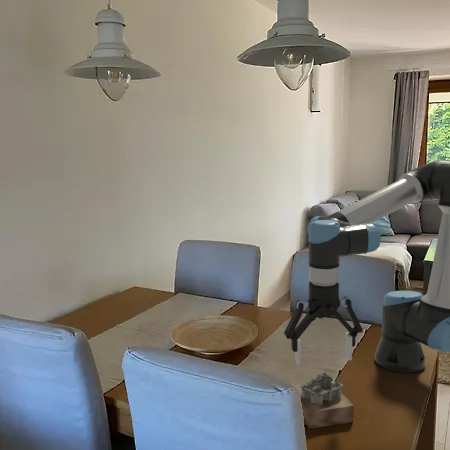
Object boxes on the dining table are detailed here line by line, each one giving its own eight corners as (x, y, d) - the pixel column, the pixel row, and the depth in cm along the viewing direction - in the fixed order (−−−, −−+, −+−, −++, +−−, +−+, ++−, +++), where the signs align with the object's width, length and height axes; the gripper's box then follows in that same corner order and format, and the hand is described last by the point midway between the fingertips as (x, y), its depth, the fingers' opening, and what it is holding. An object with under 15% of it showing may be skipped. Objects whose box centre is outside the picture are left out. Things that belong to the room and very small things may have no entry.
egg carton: (326, 384, 139) (326, 370, 138) (346, 396, 133) (346, 381, 132) (296, 394, 133) (296, 380, 133) (315, 407, 127) (316, 392, 126)
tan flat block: (328, 396, 142) (329, 380, 141) (353, 423, 129) (353, 405, 128) (288, 402, 139) (288, 385, 138) (309, 430, 126) (309, 412, 125)
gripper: (365, 274, 133) (363, 350, 137) (272, 280, 130) (273, 358, 134) (377, 282, 126) (375, 362, 130) (279, 289, 123) (280, 371, 126)
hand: (323, 360), depth 132 cm, fingers open, 13 cm apart
